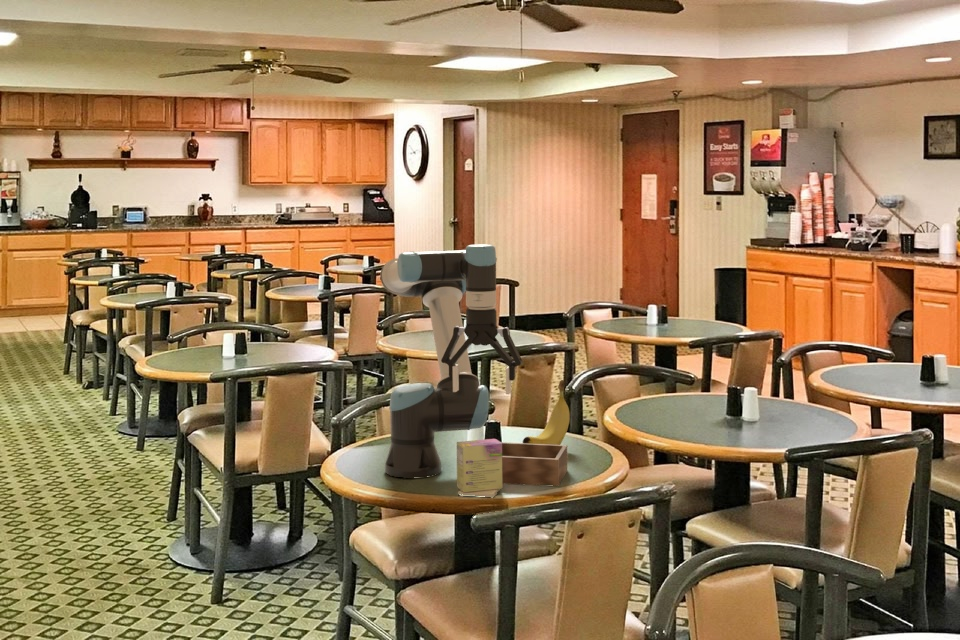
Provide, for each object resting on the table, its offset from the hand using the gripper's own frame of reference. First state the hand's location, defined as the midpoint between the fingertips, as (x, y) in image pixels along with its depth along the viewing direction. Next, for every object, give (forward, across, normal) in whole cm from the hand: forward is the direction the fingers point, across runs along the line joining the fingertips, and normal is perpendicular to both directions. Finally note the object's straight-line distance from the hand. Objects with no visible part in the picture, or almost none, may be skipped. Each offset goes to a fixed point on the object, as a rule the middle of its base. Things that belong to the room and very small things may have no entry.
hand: (482, 392), depth 267 cm
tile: (+25, 0, -2) cm, 25 cm away
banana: (+26, +9, +38) cm, 46 cm away
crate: (+25, +7, +15) cm, 30 cm away
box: (+24, 0, -2) cm, 24 cm away
